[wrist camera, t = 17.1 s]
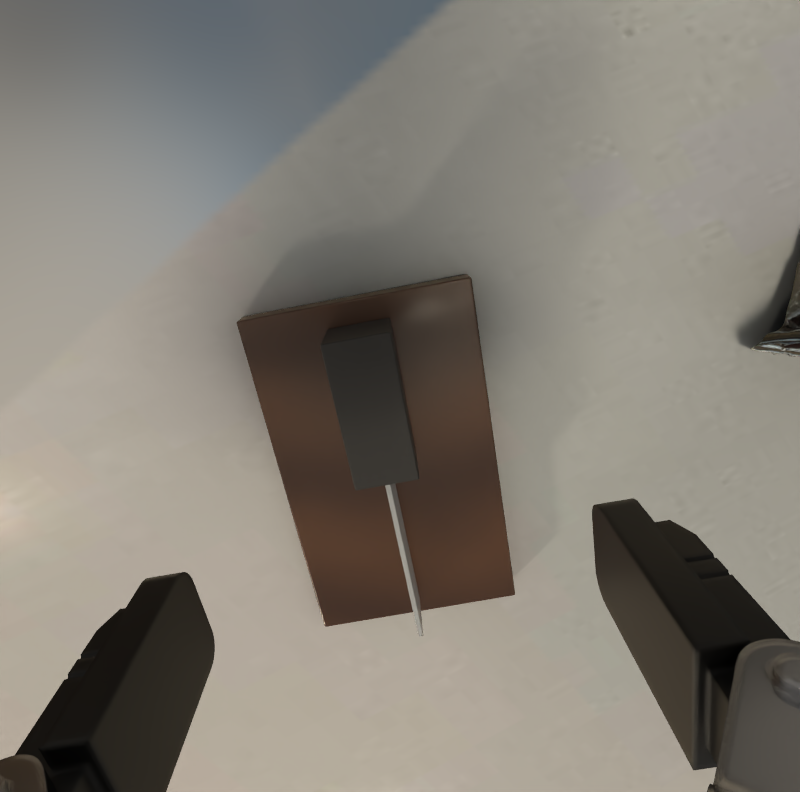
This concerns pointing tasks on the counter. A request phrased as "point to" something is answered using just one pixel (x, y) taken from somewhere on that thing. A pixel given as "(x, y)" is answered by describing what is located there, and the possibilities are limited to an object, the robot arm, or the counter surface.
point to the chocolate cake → (786, 327)
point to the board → (434, 441)
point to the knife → (374, 420)
